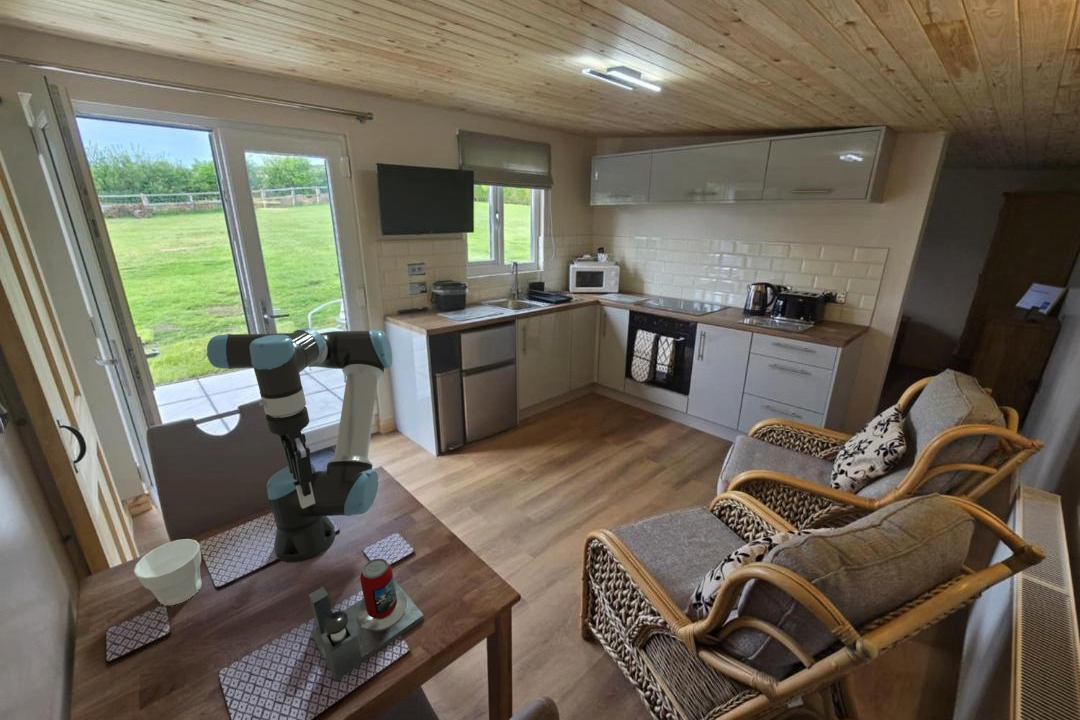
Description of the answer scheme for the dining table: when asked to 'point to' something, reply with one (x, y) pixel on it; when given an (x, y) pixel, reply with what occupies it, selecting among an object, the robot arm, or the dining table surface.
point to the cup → (171, 571)
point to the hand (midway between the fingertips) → (307, 504)
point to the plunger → (336, 626)
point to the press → (360, 630)
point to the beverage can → (378, 588)
